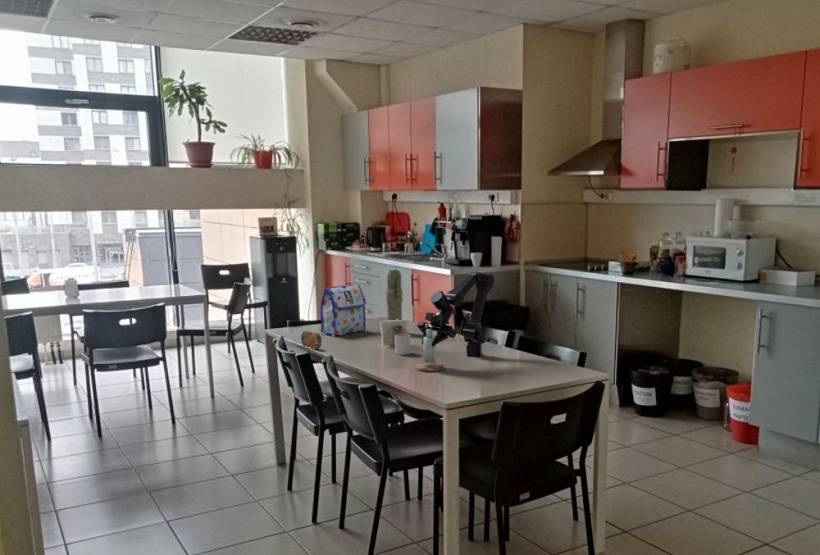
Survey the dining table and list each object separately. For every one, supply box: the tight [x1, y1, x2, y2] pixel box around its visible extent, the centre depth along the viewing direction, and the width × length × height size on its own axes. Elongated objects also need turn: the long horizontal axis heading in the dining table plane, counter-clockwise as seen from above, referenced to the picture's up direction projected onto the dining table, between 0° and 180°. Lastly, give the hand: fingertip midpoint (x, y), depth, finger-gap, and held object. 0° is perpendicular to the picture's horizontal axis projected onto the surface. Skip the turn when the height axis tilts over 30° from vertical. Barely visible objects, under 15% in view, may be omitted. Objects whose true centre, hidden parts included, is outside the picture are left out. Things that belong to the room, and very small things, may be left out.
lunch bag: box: [320, 283, 367, 337], centre depth 362 cm, size 23×17×27 cm
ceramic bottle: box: [422, 329, 437, 363], centre depth 280 cm, size 5×5×14 cm
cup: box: [394, 333, 411, 356], centre depth 311 cm, size 7×10×9 cm
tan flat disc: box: [415, 362, 444, 372], centre depth 281 cm, size 12×12×1 cm
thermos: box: [385, 269, 403, 321], centre depth 359 cm, size 9×12×35 cm
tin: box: [300, 330, 322, 350], centre depth 325 cm, size 15×3×8 cm, turn 42°
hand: (427, 345), depth 279 cm, fingers closed on ceramic bottle, 5 cm apart
